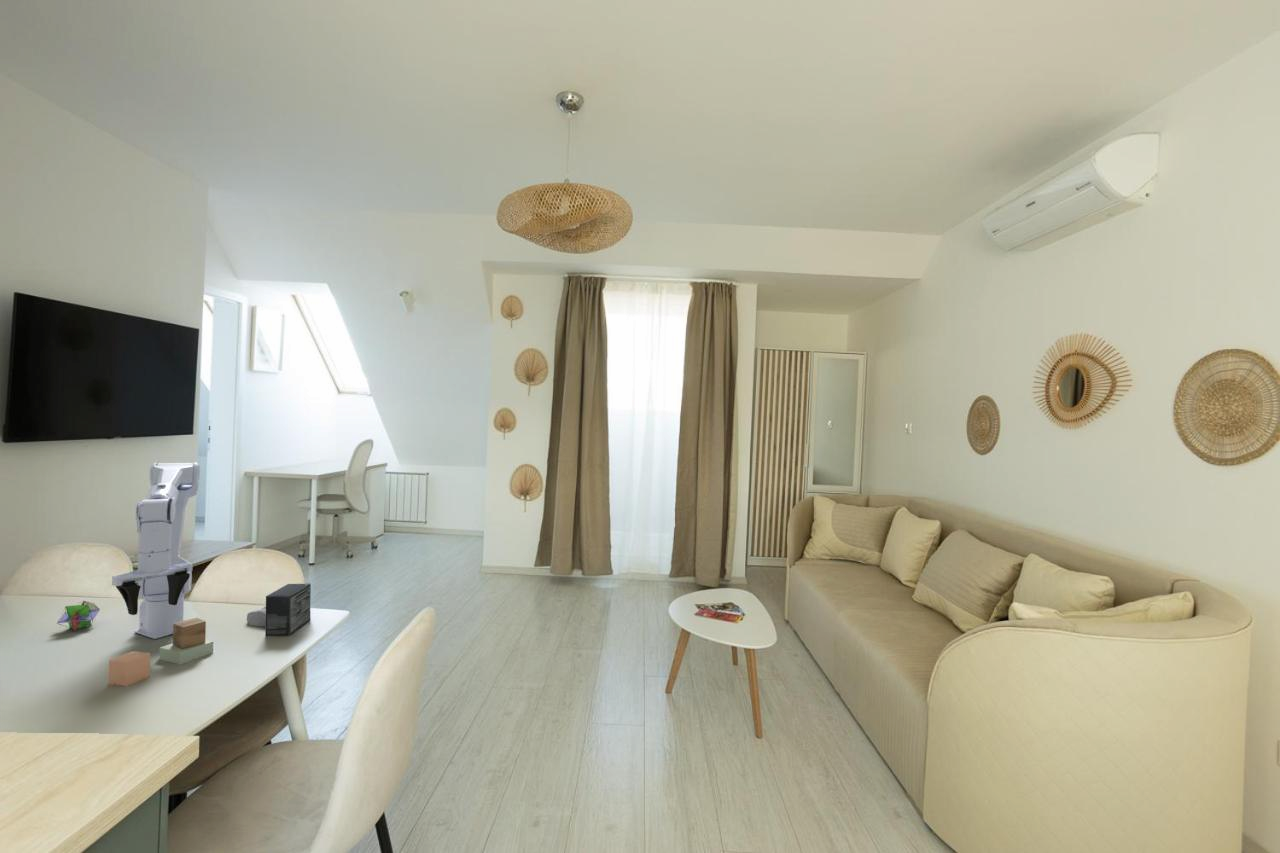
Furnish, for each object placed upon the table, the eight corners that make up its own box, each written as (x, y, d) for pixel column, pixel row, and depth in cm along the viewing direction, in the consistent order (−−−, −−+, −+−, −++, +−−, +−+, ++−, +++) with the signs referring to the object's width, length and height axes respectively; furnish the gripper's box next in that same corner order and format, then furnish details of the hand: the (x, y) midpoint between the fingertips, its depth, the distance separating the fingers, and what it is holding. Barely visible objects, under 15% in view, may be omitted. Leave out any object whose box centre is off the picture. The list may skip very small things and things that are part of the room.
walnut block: (172, 644, 127) (173, 623, 127) (196, 638, 131) (196, 617, 131) (182, 649, 124) (182, 627, 124) (205, 642, 128) (205, 621, 128)
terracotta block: (108, 684, 113) (109, 660, 113) (131, 674, 118) (132, 651, 118) (126, 686, 113) (127, 662, 113) (149, 676, 117) (150, 653, 117)
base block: (159, 660, 125) (159, 647, 125) (193, 648, 132) (193, 636, 132) (179, 666, 123) (180, 652, 123) (213, 654, 129) (213, 641, 129)
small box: (286, 620, 150) (287, 582, 150) (311, 621, 151) (312, 583, 150) (263, 636, 140) (264, 595, 139) (290, 636, 140) (291, 595, 140)
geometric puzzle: (86, 625, 137) (96, 594, 141) (49, 629, 134) (60, 597, 138) (97, 634, 142) (106, 604, 146) (61, 638, 139) (71, 606, 143)
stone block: (242, 631, 147) (274, 628, 145) (240, 613, 147) (272, 609, 145) (278, 617, 158) (309, 614, 157) (277, 601, 159) (307, 597, 157)
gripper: (124, 559, 119) (122, 621, 119) (200, 546, 132) (199, 602, 132) (107, 555, 122) (106, 616, 122) (183, 543, 135) (182, 598, 135)
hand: (153, 609), depth 127 cm, fingers open, 7 cm apart
